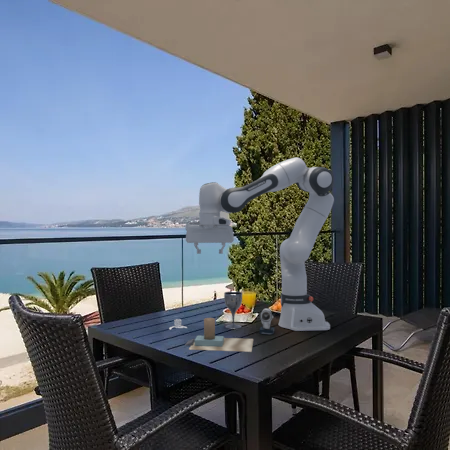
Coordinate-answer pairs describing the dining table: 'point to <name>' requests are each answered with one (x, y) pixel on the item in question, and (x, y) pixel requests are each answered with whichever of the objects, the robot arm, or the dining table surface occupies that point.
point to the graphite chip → (190, 342)
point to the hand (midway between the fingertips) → (209, 253)
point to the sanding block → (209, 335)
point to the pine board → (229, 345)
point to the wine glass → (233, 305)
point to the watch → (266, 322)
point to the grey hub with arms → (177, 324)
